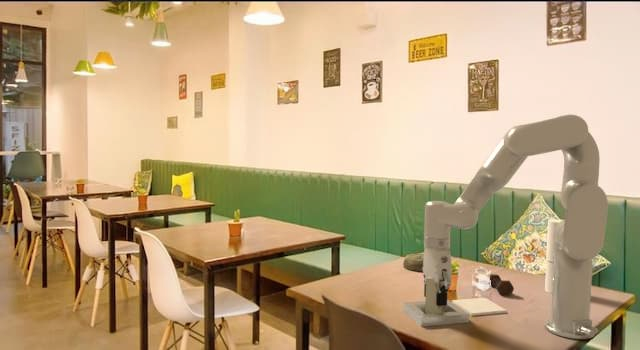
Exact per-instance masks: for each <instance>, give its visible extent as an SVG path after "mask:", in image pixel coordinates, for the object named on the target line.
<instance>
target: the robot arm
mask: <svg viewBox="0 0 640 350" xmlns="http://www.w3.org/2000/svg"><path fill="white" fill-rule="evenodd" d="M556 151H562V155H563V174H562V183H561V190H560V195H559V198H560V203H561V205H562V207H563V208H564V209H565V212H564V213H565V216H564V219H561V220H562V221H561V222H560V223H558V225H557V226H556V228H555V230H554V234H553V247H554V270H553V289H552V293H551V313H550V314H551V316H550V318H548V319H546V320H545V322H544V327H545V329H546V330H547V331H549V332H550V333H552V334H554V335H557V336H560V337H563V338H567V339H575V340H589V339H592V338H594V337H595V336H596V335H597V334H598V333H599V329H598V328H596V327H594V326H593V320H592V319H591V318H590V317H591V301H592V300H591V298H592V296H591V295H592V282H593V281H592V280H593V259H595V258H596V257H597V256H598V255H600V253H601V251H602V249H603V246H604V242H605V237H606V230H607V229H606V227H607V222H608V221H607V220H608V218H607V217H608V213H609V212H608V209H609V204H608V201H609V200H608V196H607V195H606V193H605V191H604V189H603V188H602V187H601V186H599V178H600V177H599V176H600V160H601V157H600V151H599V147H598V143H597V142H596V140H595V139H594V136H593V135H592V134H591V132H589V125H588V123H587V122H586V121H585V119H584V118H582V117H581V116H580V115H576V114H564V115H559V116H556V117H554V118H553V117H552V118H549V119H545V120H541V121H536V122H531V123H526V124H525V123H524V124H519V125H515V126H513V127H511V128H510V129H508V131H506V133H505V134H504V135H503V137H502V138H501V139H500V141H499V142H498V143H497V144H496V146H495V147H494V149H493V150H492V151H491V153H490V154H489V156H488V157H487V159H486V160H485V161H484V162H483V163H482V165H481V166H480V168H479V169H478V170H477V172H476V174H475V175H474V177H473V178H472V179H471V181H470V182H469V183H468V185H467V186H466V187H465V189H463V192H462V193H461V194H460V195H459V197H458V198H457V200H456V201H455V202H454V203H449V202H447V201H443V200H431V201H430V200H429V201H427V202H426V203H425V205H424V224H423V225H424V228H423V229H424V232H423V235H424V236H423V247H424V251H423V254H424V259H423V268H422V270H423V271H422V273H423V279H424V280H423V283H424V288H423V289H424V291H423V294H424V295H423V296H424V298H426V278H427V277H430V278H432V279H433V281H434V282H435V283H436V284H437V289H438V292H437V294H436V305H437V306H445V305H447V299H448V293H449V289H450V287H451V285H452V277H453V276H452V268H453V267H452V266H453V265H452V256H451V254H452V253H451V250H450V248H451V228H455V229H460V230H468V229H472V228H473V227H475V226H476V224H478V221H479V213H480V212H481V210H483V208H484V207H485V205H486V204H487V203H488V201H489V200H491V198H492V197H493V196H494V195H495V194H496V193H498V192H499V191H500V190H502V189H503V188H504V187H505V186H506V185H507V184H508V183H510V181H511V179H512V178H513V176H514V175H515V174H516V173H517V171H518V170H519V169H520V167H522V165H523V164H524V162H525V161H527V158H528V157H531V156H537V155H543V154H548V153H552V152H556ZM439 280H443V281H441V282H440V281H439ZM440 284H444V285H443V286H442V287H440Z"/></svg>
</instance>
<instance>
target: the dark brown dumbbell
mask: <svg viewBox="0 0 640 350" xmlns="http://www.w3.org/2000/svg"><path fill="white" fill-rule="evenodd" d="M490 274H491V275H490V280H491V286H492V287H491V286H490V287H491V288H495V289H496V291H497V292H498V294H499V296H503V297H505V296H506V297H507V296H508V297H510V296H512V294H513V292H514V290H515V288H514V285H513V283H511V281H510V280H502V279H501V277H500V275H498V274H495V273H493V274H492V273H490Z"/></svg>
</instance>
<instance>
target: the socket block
mask: <svg viewBox="0 0 640 350" xmlns="http://www.w3.org/2000/svg"><path fill="white" fill-rule="evenodd" d="M425 302H426V300H423V301H422V300H421V301H411V302H410V301H409V302H402V303H403V304H402V309H403V310H402V311H403V312H404V313H405V314H406V315H407V316H409V317H410V318H411V319H412V320H413V321H414V322H415V323H417V324H418V325H419V326H420V327H429V326H430V327H431V326H432V327H434V326H443V325H444V326H445V325H454V324H465V323H469V322H470V314H468V313H467V312H465V311H464V310H463V309H461V308H460V307H458V306H457V305H455V304H454V303H452V300H449V299H448V298H447V305H445V313H434V314H425Z"/></svg>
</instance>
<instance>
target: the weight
mask: <svg viewBox="0 0 640 350" xmlns="http://www.w3.org/2000/svg"><path fill="white" fill-rule="evenodd" d="M423 259H424V253H409V254H407V255H406V256H405V257H404V260H403V264H402V265H403V268H404V269H407V270H409V271H415V272H416V271H418V272H423V270H422V268H423Z"/></svg>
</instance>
